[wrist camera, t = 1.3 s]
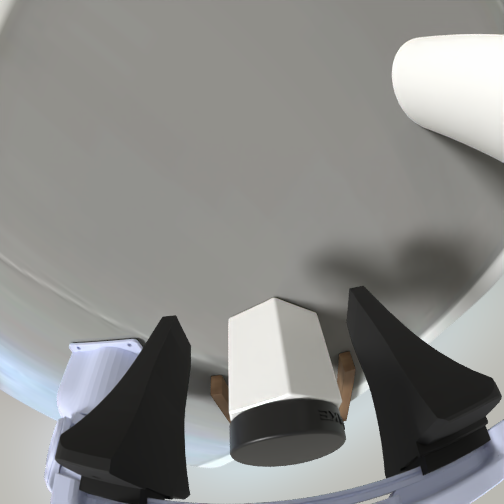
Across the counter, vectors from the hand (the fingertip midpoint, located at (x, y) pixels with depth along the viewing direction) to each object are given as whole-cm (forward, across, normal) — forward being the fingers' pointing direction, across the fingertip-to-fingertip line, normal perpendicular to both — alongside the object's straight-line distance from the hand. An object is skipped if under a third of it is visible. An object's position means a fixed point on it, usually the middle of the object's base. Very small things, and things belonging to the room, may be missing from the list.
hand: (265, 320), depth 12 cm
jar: (+10, 0, +12) cm, 15 cm away
